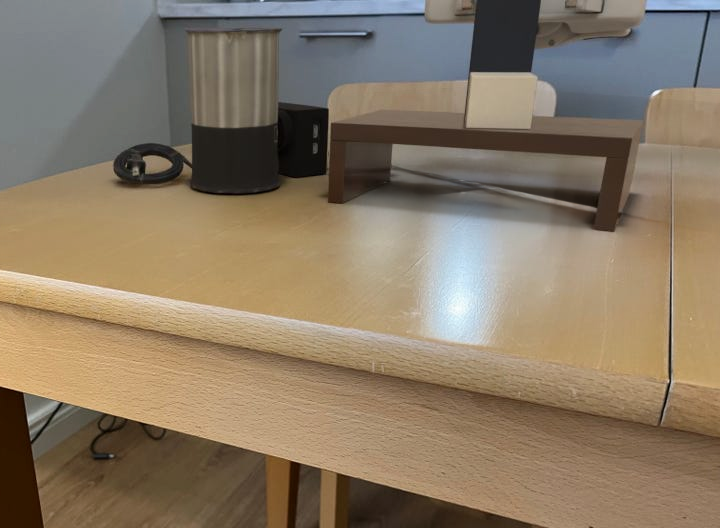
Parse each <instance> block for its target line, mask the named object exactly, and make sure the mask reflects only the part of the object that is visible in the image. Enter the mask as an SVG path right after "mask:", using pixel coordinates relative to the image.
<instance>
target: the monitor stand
mask: <svg viewBox="0 0 720 528" xmlns="http://www.w3.org/2000/svg"><path fill="white" fill-rule="evenodd" d="M643 127H644V120H643V119H625V118H623V119H621V118H600V117H599V118H597V117H595V118H594V117H575V116H574V117H572V116H571V117H570V116H550V115H549V116H548V115H546V116H545V115H532V122H531V129H529V130H528V129H479V128H466V122H465V112H453V111H451V112H449V111H426V110H425V111H423V110H403V109H402V110H401V109H377V110H375V111H371V112H367V113H363V114H360V115H359V114H358V115H355V116H351V117H347V118H343V119H340V120H336V121H333V122H331V123H330V135H329V160H328V161H329V164H328V165H329V166H328V187H327V189H328V191H327V202H328V203H333V204H344V203H346V202H348V201H351V200H352V199H354V198H357V197H358V196H359V197H360V195H362V194H365V193H366V192H368V191H370V190H373V189H374V188H377V187H379V186H380V185H383V184H385V183H387V182H389V181H390V180H391V172H392V159H393V145H402V146H403V145H404V146H419V147H436V148H450V149H468V150H481V151H482V150H483V151H497V152H498V151H499V152H515V153H532V154H533V153H534V154H546V155H547V154H548V155H565V156H581V157H595V158H596V157H597V158H605V163H604V169H603V174H602V179H601V186H600V190H599V196H598V200H597V201H598V202H597V208H596V213H595V217H594V223H593V228H592V229H593V230H596V231H606V232H615V230H616V229H617V226H618V224H619V222H620V219H621V217H622V214H623V209H624V207H625V205H626V202H627V200H628V198H629V196H630V192H631V186H632V182H633V177H634V171H635V167H636V162H637V157H638V152H639V148H640V147H639V146H640V141H641V136H642V131H643Z"/></svg>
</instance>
